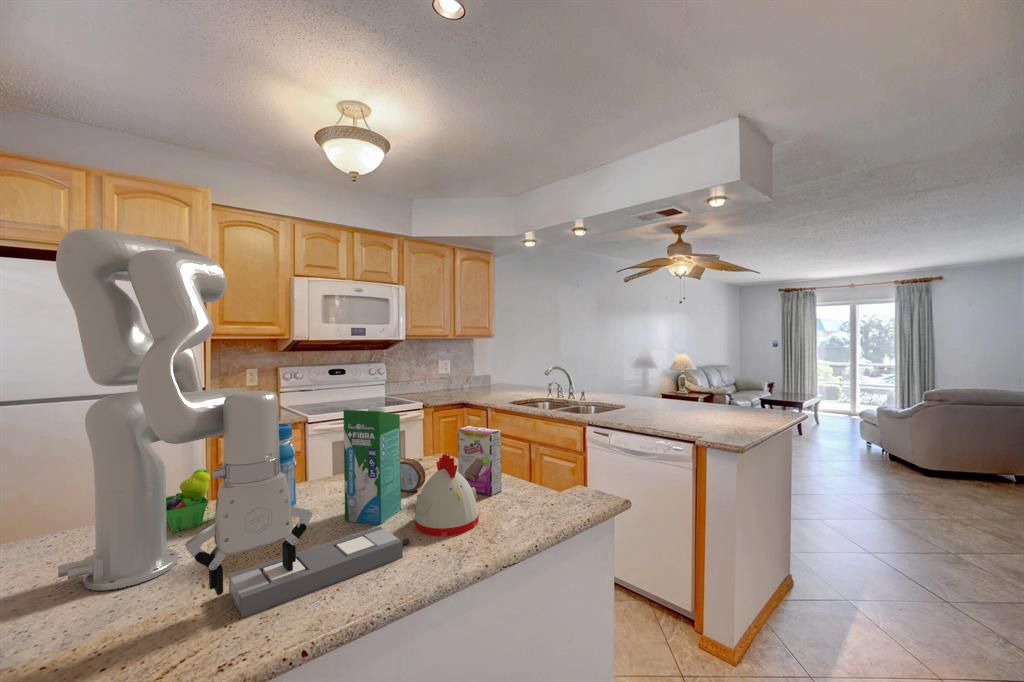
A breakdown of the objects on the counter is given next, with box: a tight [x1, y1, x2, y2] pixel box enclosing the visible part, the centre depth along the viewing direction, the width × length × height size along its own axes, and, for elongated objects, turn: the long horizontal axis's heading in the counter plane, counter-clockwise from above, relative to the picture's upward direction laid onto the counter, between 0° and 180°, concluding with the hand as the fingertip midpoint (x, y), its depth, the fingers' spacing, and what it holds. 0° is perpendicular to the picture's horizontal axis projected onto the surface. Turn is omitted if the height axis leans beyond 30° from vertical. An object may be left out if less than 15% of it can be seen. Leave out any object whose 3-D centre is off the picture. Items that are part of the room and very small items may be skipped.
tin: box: [400, 457, 426, 493], centre depth 120 cm, size 15×3×8 cm, turn 68°
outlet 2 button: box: [336, 536, 375, 557], centre depth 81 cm, size 5×5×2 cm
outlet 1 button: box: [263, 559, 305, 583], centre depth 73 cm, size 5×5×2 cm
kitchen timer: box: [414, 453, 480, 537], centre depth 98 cm, size 14×14×15 cm
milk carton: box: [342, 406, 402, 526], centre depth 102 cm, size 9×9×25 cm
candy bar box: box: [457, 425, 502, 497], centre depth 118 cm, size 11×5×16 cm, turn 58°
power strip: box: [228, 526, 411, 618], centre depth 78 cm, size 30×9×3 cm, turn 133°
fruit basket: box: [166, 468, 211, 533], centre depth 100 cm, size 11×9×11 cm
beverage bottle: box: [279, 423, 297, 507], centre depth 107 cm, size 8×8×20 cm
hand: (254, 579), depth 70 cm, fingers open, 9 cm apart
